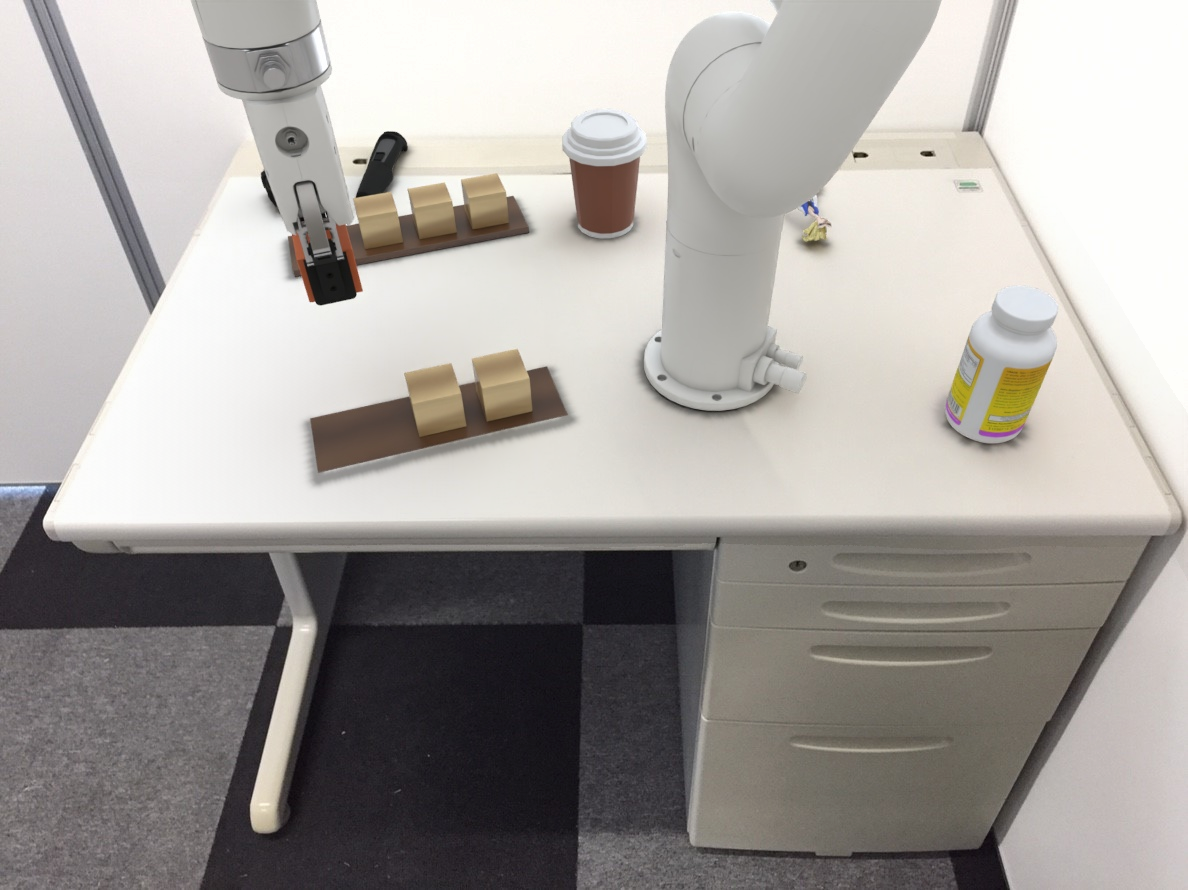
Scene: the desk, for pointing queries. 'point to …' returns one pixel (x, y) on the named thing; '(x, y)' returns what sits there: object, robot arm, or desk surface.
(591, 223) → the coffee cup
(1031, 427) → the desk surface
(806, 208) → the figurine
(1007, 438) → the supplement bottle
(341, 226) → the orange toy cube
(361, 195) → the utility knife
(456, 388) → the near word
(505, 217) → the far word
